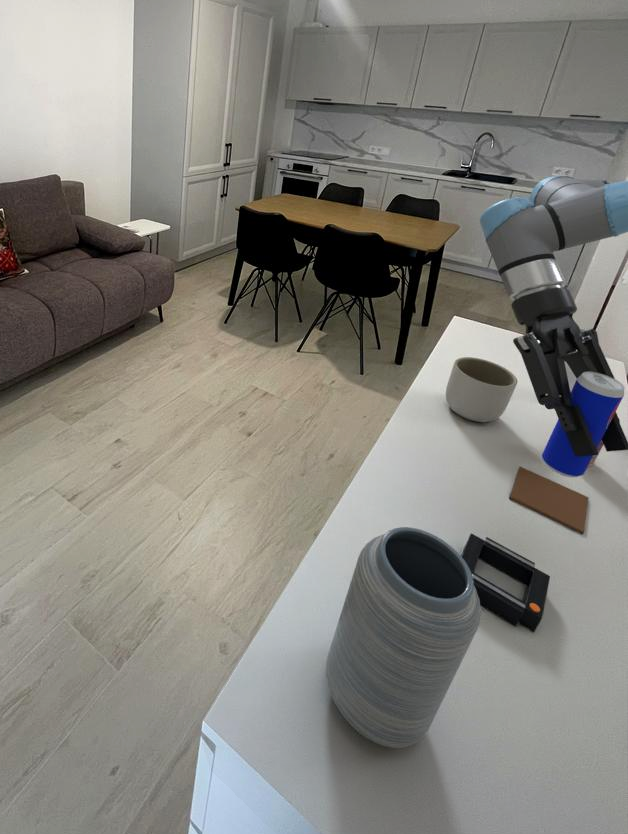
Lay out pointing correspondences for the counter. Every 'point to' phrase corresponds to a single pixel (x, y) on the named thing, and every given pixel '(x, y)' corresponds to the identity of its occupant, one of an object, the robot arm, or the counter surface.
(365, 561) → the vase
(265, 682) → the counter surface
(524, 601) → the frame
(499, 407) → the planter
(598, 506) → the counter surface
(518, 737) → the counter surface
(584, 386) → the beverage can
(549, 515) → the cork mat
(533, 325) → the robot arm
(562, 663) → the counter surface
